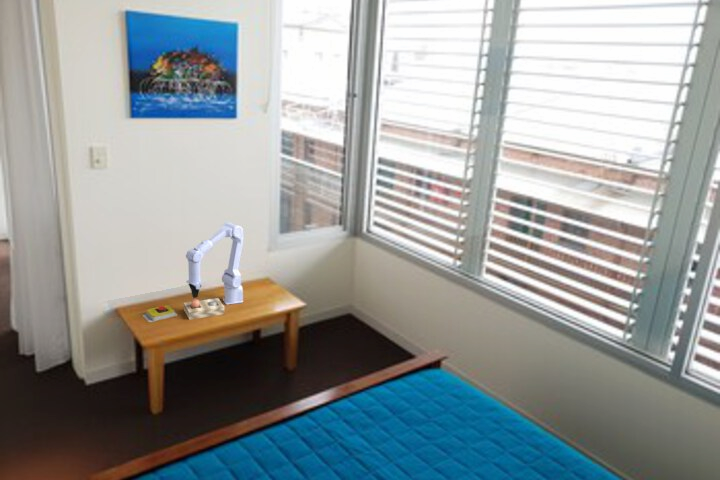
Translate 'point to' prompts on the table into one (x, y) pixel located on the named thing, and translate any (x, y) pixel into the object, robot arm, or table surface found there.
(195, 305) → the terracotta button
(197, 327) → the table surface
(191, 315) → the button panel
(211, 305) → the grey button
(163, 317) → the emergency button
